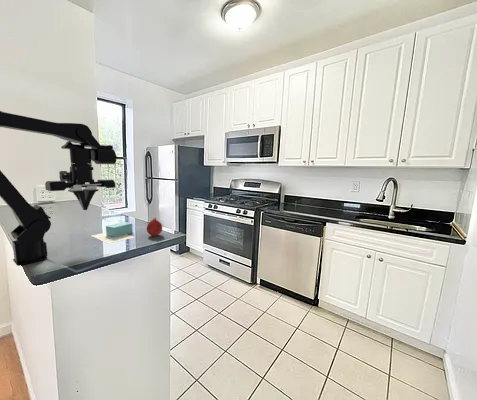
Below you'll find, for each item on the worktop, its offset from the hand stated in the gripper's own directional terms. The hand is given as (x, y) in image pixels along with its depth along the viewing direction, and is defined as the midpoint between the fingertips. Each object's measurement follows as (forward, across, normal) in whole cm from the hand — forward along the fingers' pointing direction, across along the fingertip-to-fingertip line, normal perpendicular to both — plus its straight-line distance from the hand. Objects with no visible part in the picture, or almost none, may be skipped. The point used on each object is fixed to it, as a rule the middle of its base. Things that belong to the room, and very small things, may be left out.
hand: (85, 210), depth 76 cm
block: (+10, -9, -4) cm, 14 cm away
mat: (+13, -10, -4) cm, 17 cm away
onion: (+13, -21, +8) cm, 26 cm away
